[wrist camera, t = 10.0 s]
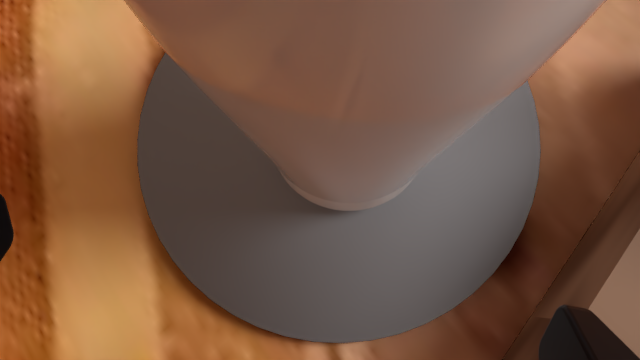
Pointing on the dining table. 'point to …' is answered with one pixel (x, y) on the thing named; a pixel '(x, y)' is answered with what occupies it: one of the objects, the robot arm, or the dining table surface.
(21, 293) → the dining table surface
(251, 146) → the slate mat
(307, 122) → the drinking glass
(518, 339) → the wooden holder tray
